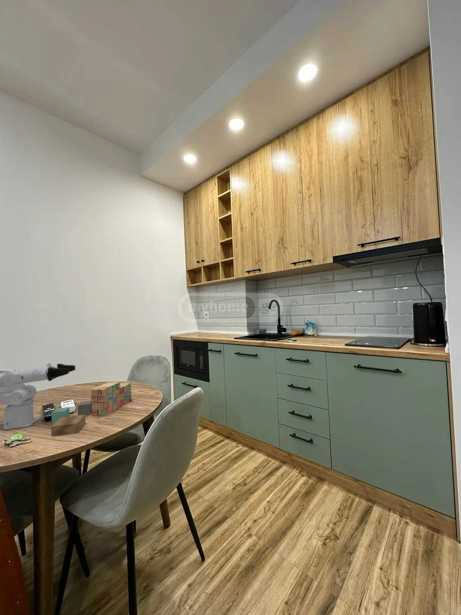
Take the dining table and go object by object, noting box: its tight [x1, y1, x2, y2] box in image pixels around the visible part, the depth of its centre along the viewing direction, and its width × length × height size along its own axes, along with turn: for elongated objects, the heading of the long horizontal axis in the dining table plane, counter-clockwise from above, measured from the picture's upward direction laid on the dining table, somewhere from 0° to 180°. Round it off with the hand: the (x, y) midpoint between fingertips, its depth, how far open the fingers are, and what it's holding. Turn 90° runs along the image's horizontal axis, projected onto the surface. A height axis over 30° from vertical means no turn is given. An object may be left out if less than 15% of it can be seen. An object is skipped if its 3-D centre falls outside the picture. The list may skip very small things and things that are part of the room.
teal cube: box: [51, 406, 71, 425], centre depth 110 cm, size 5×5×5 cm
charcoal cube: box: [77, 400, 92, 417], centre depth 118 cm, size 5×5×5 cm
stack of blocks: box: [90, 381, 132, 417], centre depth 125 cm, size 21×6×12 cm, turn 169°
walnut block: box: [50, 414, 86, 437], centre depth 101 cm, size 9×9×4 cm
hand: (71, 369), depth 114 cm, fingers open, 7 cm apart
